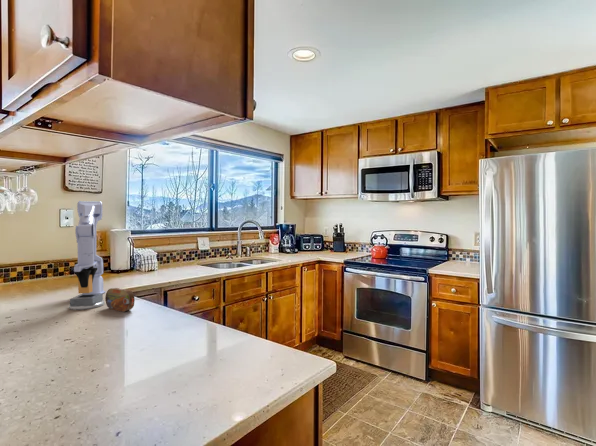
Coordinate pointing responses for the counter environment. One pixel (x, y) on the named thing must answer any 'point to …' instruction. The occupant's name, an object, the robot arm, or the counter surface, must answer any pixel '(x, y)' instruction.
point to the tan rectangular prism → (86, 289)
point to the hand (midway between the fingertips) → (86, 286)
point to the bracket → (86, 301)
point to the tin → (119, 299)
